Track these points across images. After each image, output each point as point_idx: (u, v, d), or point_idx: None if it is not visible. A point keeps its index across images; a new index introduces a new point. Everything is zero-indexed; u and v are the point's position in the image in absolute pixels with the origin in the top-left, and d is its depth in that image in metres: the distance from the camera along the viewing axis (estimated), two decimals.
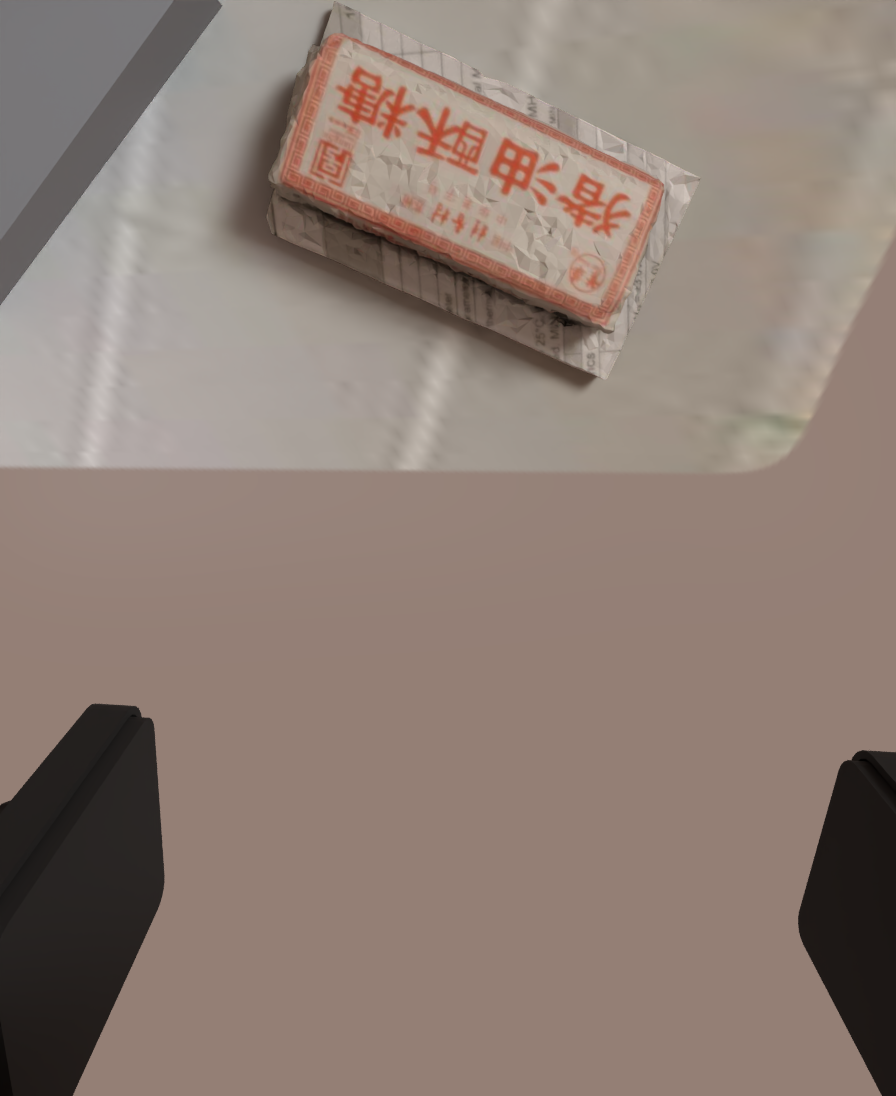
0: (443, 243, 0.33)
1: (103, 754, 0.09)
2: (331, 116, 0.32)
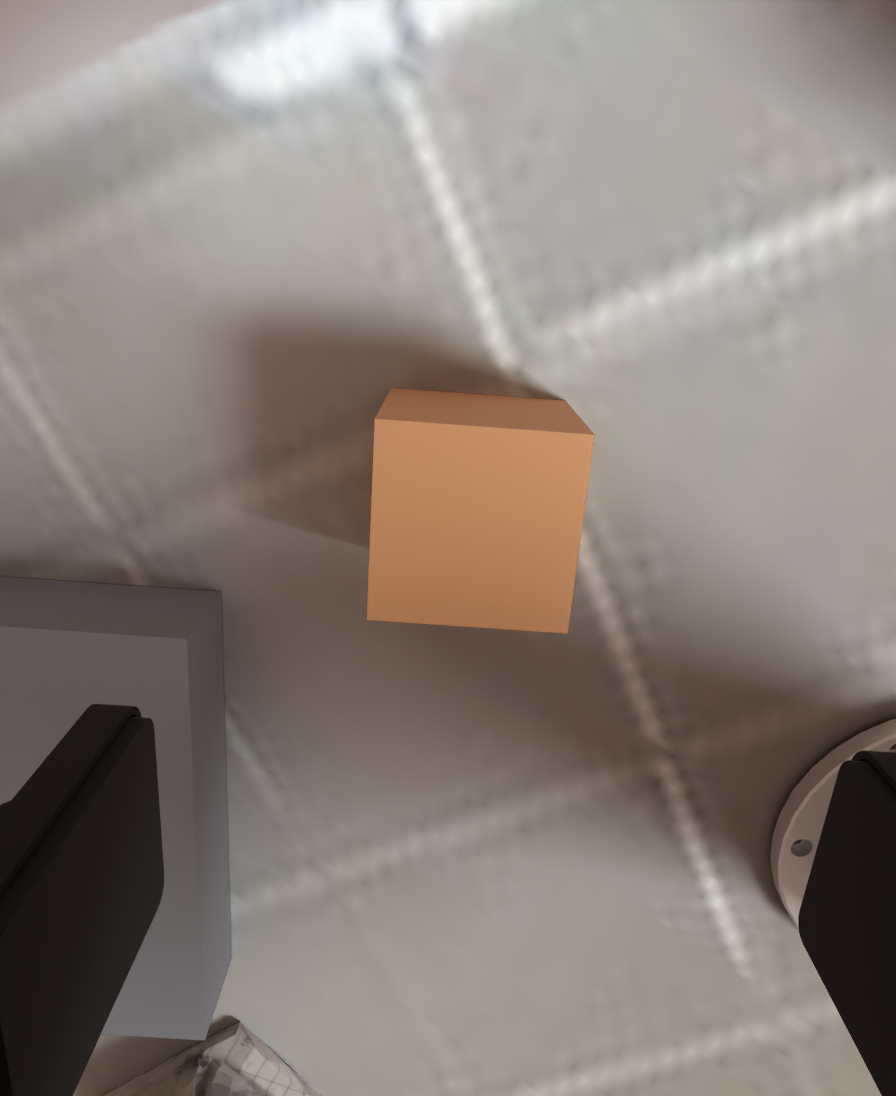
0: None
1: (103, 754, 0.09)
2: None
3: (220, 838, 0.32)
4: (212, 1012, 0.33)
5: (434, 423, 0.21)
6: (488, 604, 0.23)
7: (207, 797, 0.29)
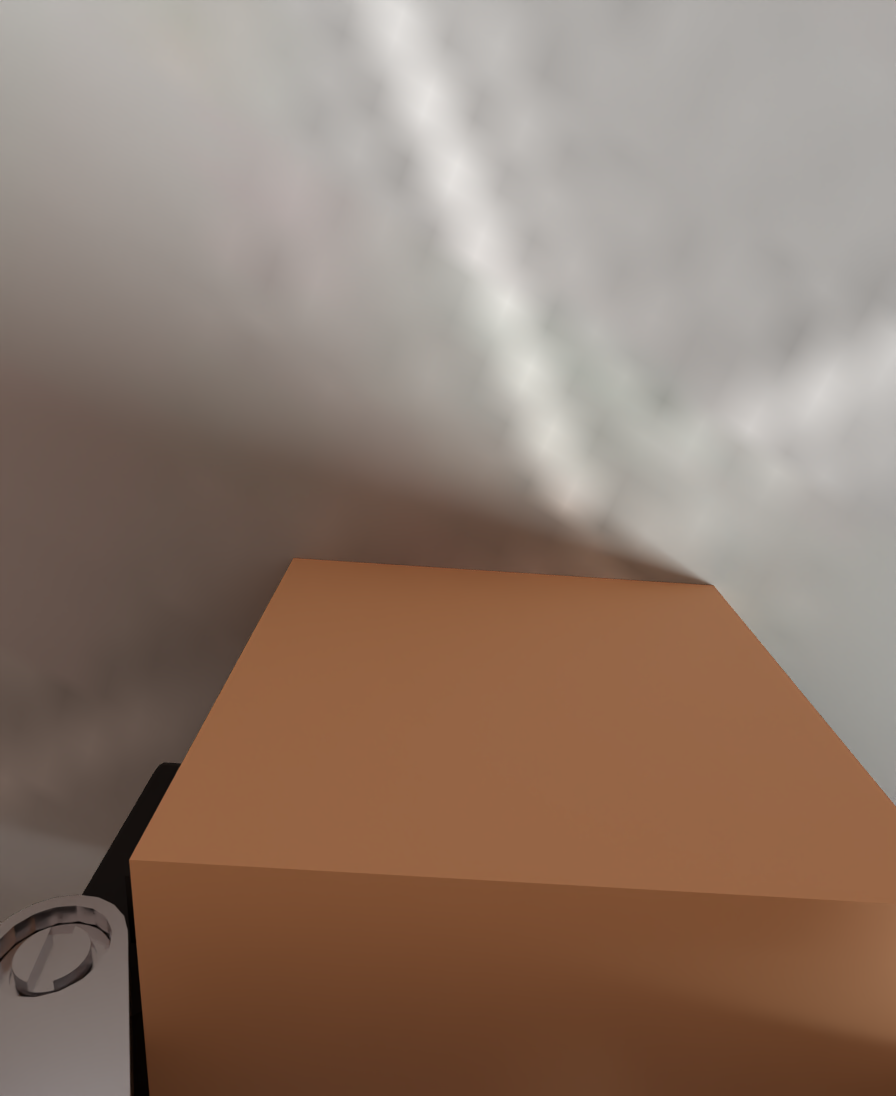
0: None
1: None
2: None
3: None
4: None
5: (362, 874, 0.05)
6: None
7: None
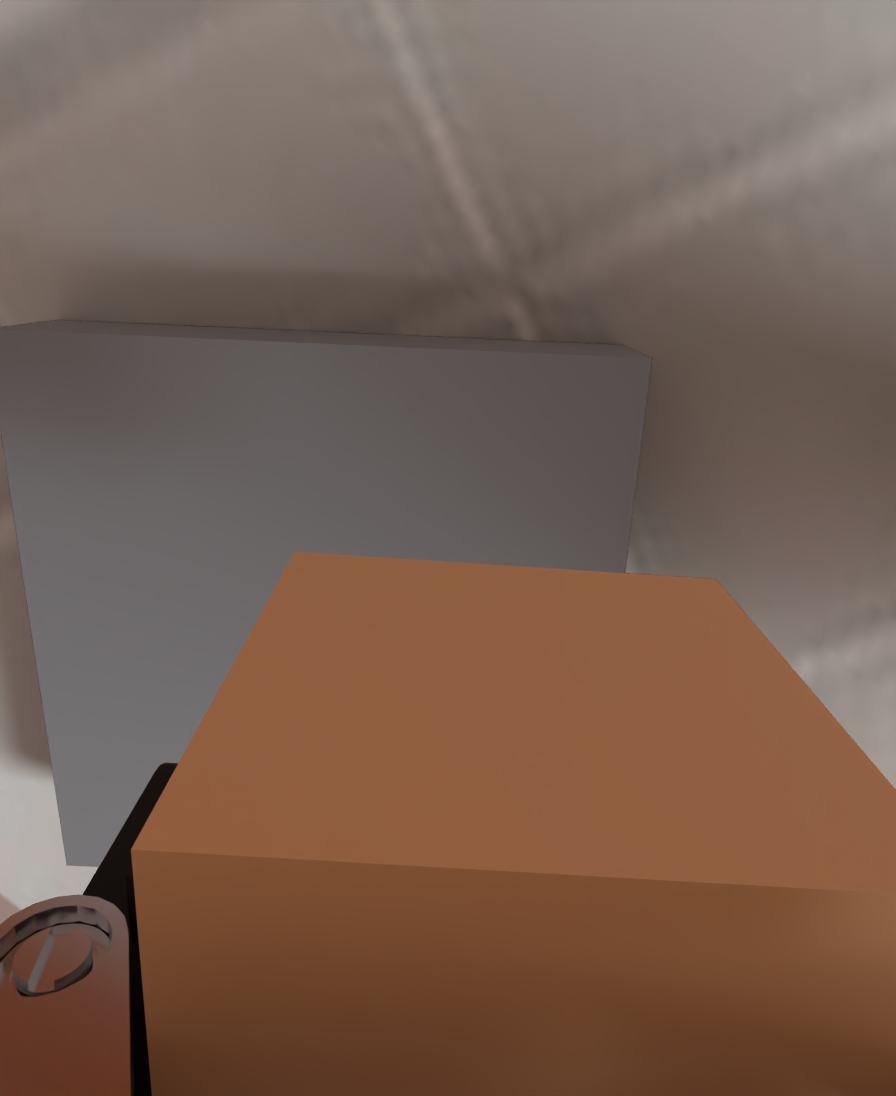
0: None
1: None
2: None
3: None
4: None
5: (366, 864, 0.05)
6: None
7: None
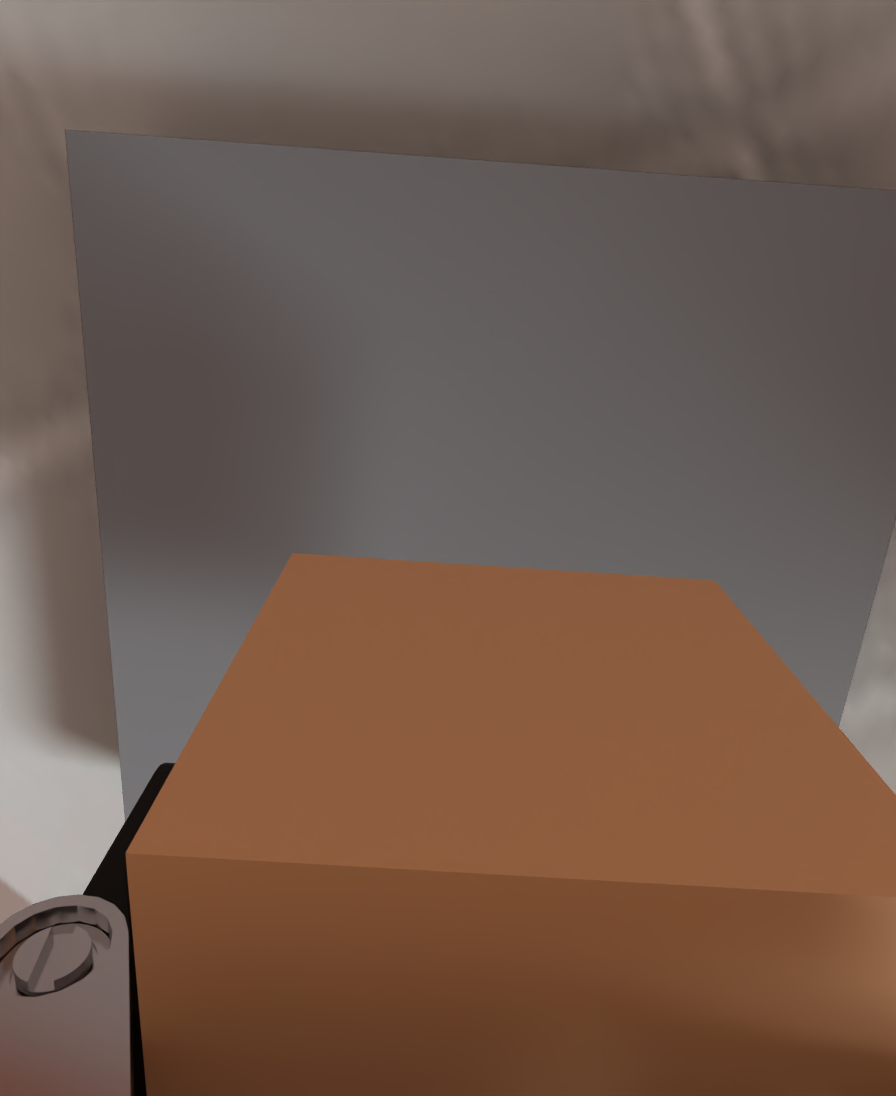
0: None
1: None
2: None
3: None
4: None
5: (362, 868, 0.05)
6: None
7: None
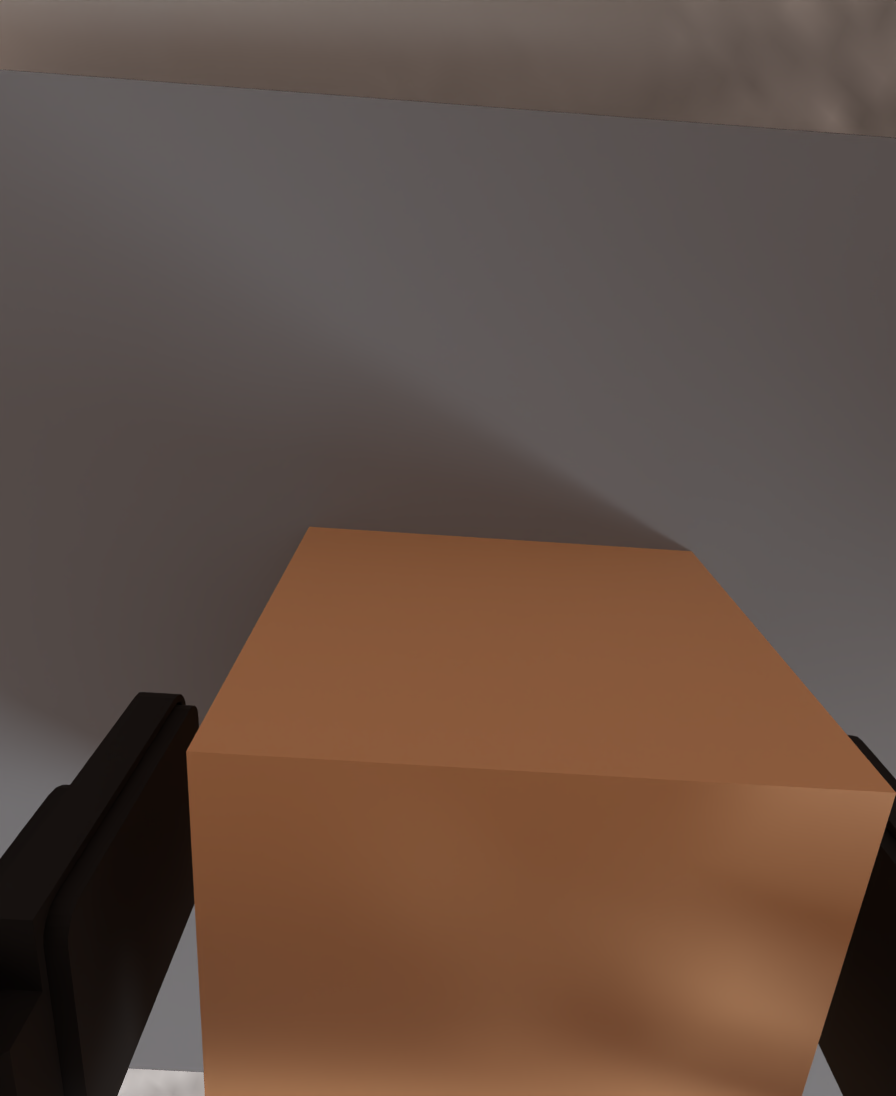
0: None
1: (154, 739, 0.09)
2: None
3: None
4: None
5: (380, 763, 0.07)
6: None
7: None
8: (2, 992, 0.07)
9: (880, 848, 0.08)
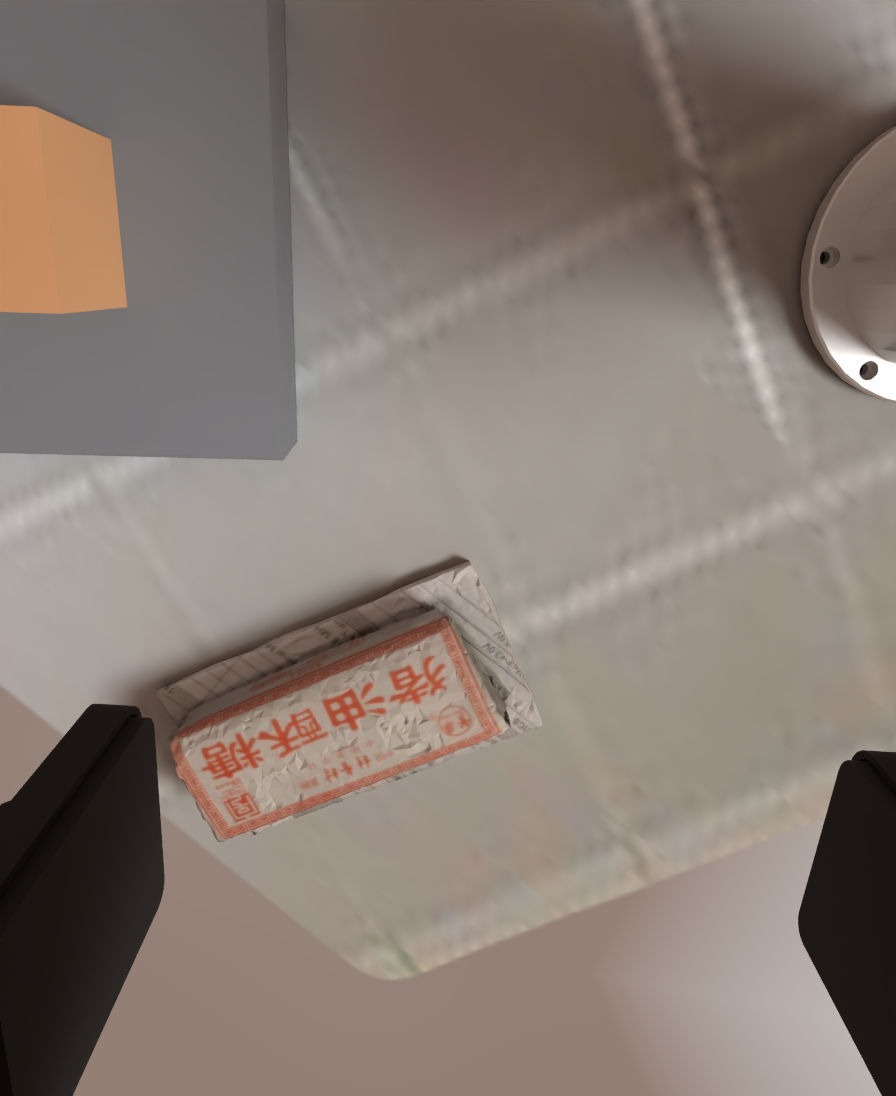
0: (350, 786, 0.39)
1: (103, 754, 0.09)
2: (215, 786, 0.39)
3: (288, 273, 0.34)
4: (286, 449, 0.34)
5: None
6: None
7: (279, 191, 0.31)
8: None
9: None
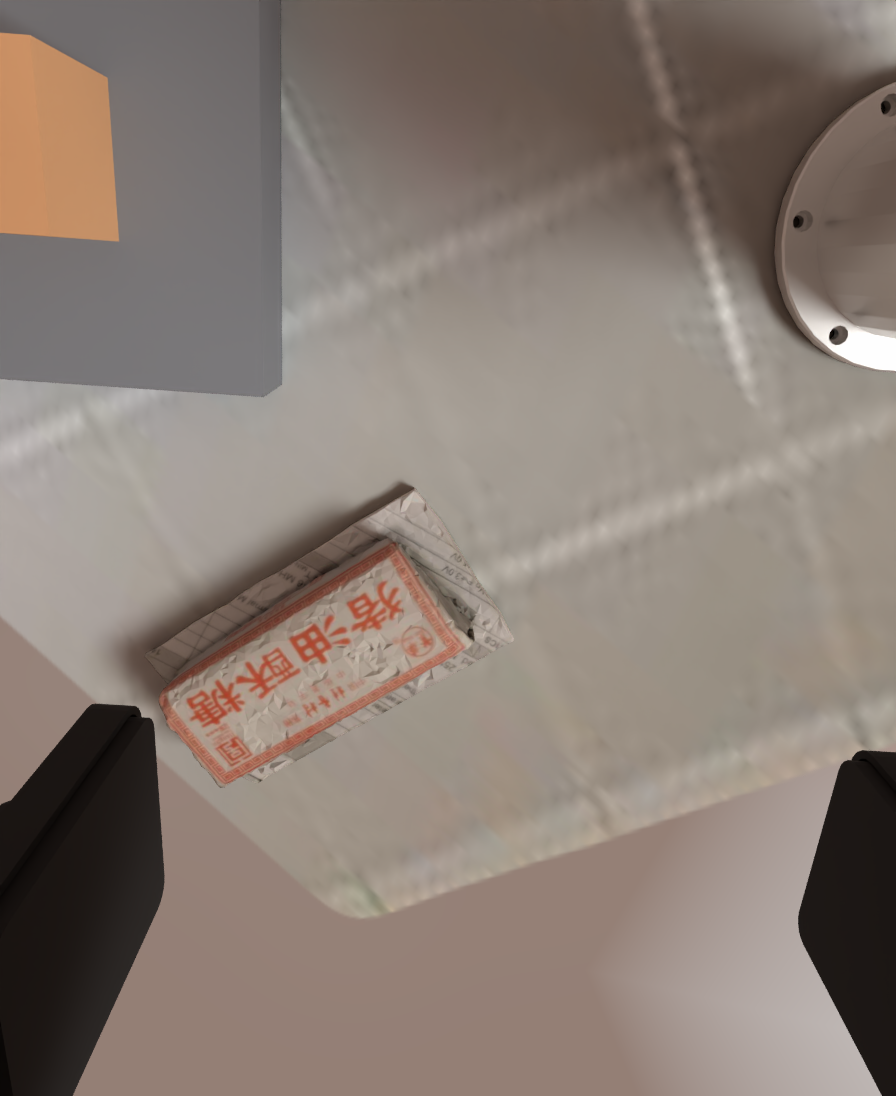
0: (330, 718, 0.40)
1: (103, 754, 0.09)
2: (206, 733, 0.41)
3: (276, 217, 0.35)
4: (268, 388, 0.36)
5: None
6: None
7: (268, 135, 0.33)
8: None
9: None
